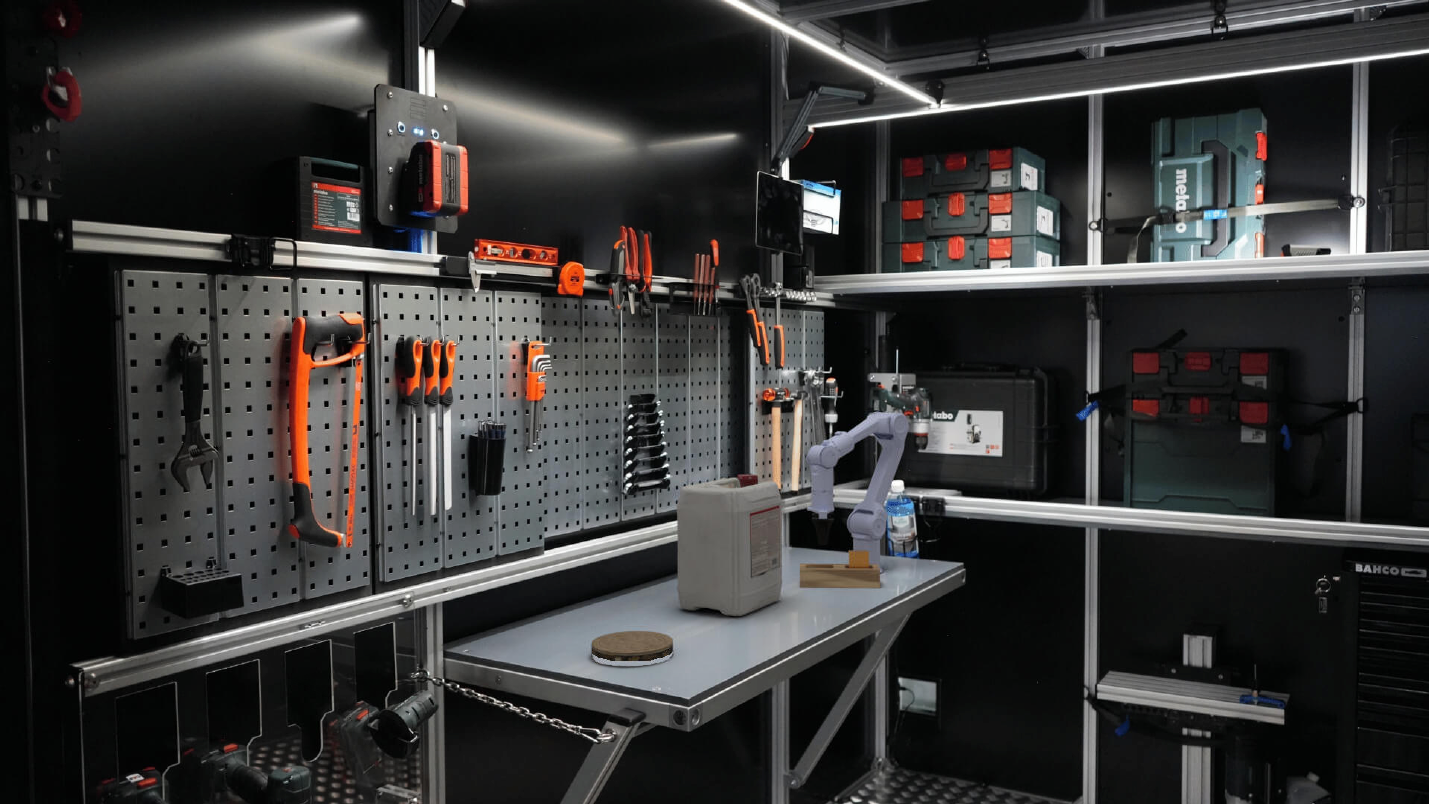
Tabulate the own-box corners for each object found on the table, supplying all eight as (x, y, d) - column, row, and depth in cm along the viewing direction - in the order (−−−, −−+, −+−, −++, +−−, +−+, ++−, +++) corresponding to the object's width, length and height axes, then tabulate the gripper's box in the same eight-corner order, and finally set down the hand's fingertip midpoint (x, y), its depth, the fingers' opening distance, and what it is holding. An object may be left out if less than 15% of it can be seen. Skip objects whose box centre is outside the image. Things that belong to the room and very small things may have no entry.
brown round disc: (690, 655, 197) (690, 639, 197) (631, 674, 185) (630, 658, 185) (634, 641, 208) (633, 626, 208) (574, 658, 196) (574, 643, 196)
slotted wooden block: (800, 580, 263) (800, 563, 263) (877, 581, 262) (877, 563, 261) (800, 587, 255) (799, 569, 255) (880, 587, 254) (879, 570, 254)
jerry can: (722, 591, 252) (720, 471, 251) (789, 599, 242) (788, 474, 242) (669, 611, 232) (667, 481, 231) (740, 621, 222) (738, 485, 221)
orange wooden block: (848, 577, 259) (848, 550, 259) (868, 577, 259) (868, 550, 259) (849, 579, 257) (849, 552, 257) (869, 579, 257) (868, 552, 256)
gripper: (807, 487, 274) (807, 537, 274) (807, 494, 259) (807, 547, 260) (833, 487, 273) (833, 537, 274) (834, 494, 259) (835, 547, 259)
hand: (822, 542), depth 267 cm, fingers open, 7 cm apart
